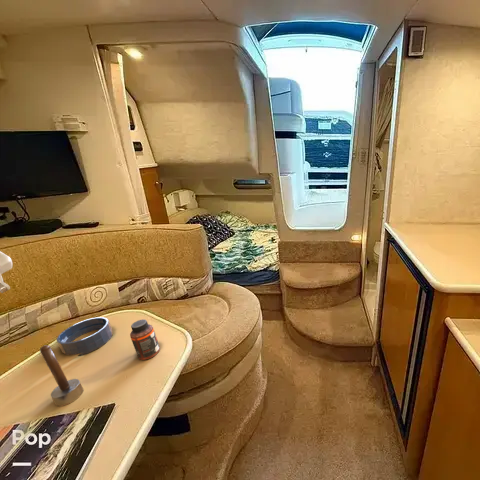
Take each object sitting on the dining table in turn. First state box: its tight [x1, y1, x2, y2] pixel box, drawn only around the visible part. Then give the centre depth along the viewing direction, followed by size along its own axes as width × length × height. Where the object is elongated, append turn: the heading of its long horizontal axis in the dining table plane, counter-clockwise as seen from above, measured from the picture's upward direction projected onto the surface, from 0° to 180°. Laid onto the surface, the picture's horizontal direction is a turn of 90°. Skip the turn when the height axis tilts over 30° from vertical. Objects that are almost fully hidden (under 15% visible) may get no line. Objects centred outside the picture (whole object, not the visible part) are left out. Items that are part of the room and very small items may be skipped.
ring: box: [56, 316, 114, 357], centre depth 89 cm, size 13×13×6 cm
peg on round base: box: [39, 344, 84, 407], centre depth 67 cm, size 6×6×16 cm
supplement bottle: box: [129, 318, 161, 361], centre depth 81 cm, size 6×6×11 cm
